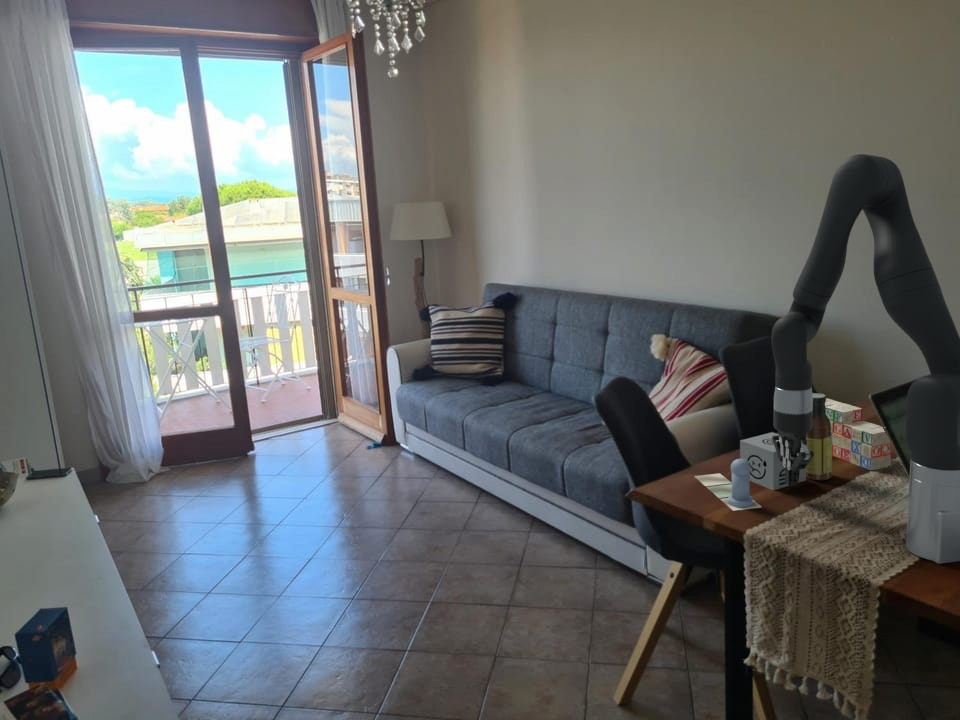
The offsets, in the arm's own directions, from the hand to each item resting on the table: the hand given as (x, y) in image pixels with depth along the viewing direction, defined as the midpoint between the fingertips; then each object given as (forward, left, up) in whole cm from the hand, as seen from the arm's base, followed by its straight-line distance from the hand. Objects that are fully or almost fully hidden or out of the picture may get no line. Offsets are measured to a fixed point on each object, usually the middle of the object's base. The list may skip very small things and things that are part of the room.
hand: (791, 484), depth 153 cm
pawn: (+1, +11, -3) cm, 12 cm away
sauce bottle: (+12, -13, -4) cm, 18 cm away
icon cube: (+12, -2, -5) cm, 13 cm away
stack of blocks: (+22, -27, -5) cm, 36 cm away
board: (+8, +11, -4) cm, 14 cm away
